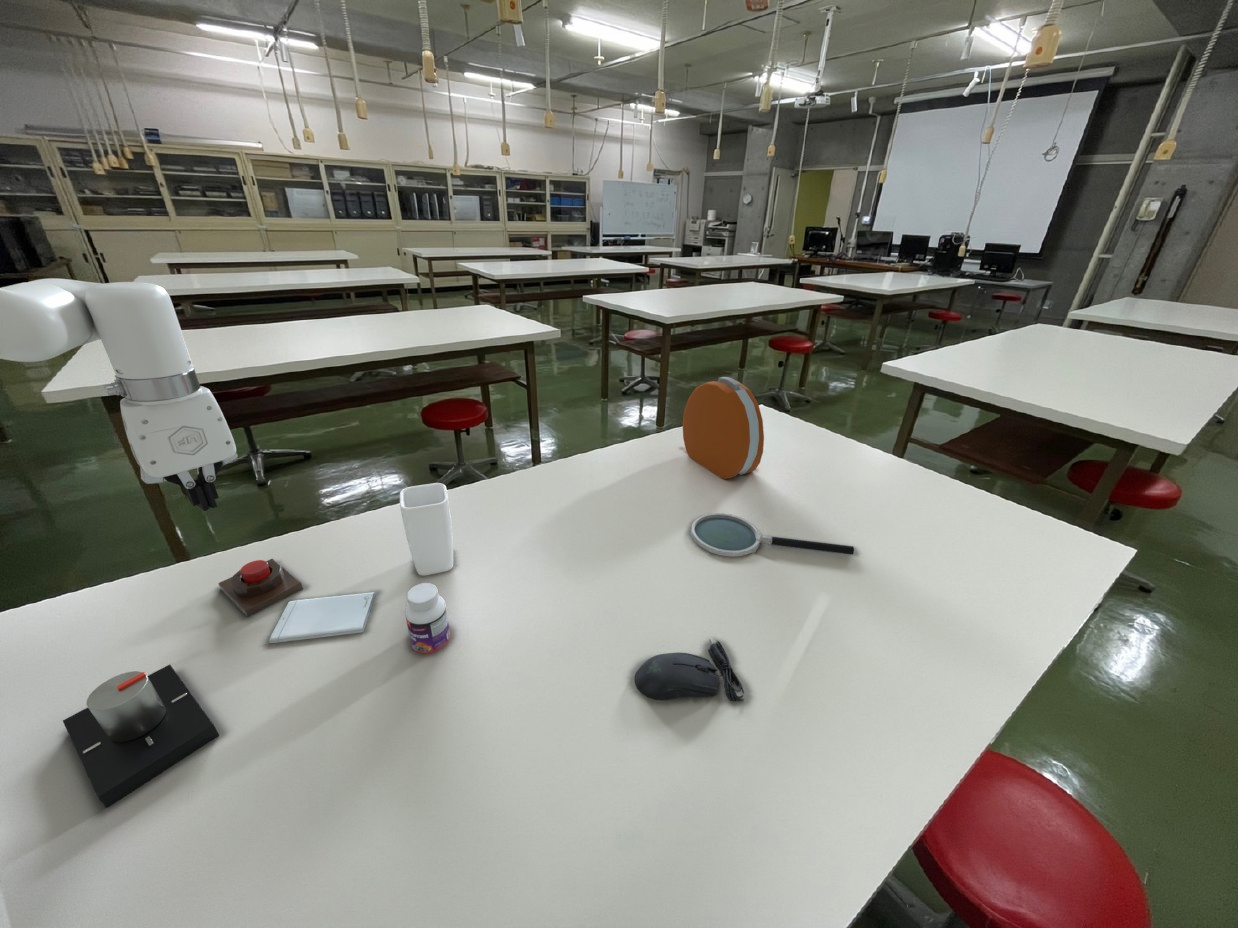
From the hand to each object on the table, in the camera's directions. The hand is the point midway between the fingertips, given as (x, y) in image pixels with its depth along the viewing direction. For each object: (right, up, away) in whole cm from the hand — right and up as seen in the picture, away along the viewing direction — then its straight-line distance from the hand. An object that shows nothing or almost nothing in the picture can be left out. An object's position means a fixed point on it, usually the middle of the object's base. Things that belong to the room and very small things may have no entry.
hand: (206, 505), depth 72 cm
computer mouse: (+69, -24, -3) cm, 73 cm away
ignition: (+2, -15, +8) cm, 17 cm away
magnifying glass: (+90, -10, +26) cm, 94 cm away
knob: (+4, -24, -15) cm, 28 cm away
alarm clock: (+86, +6, +56) cm, 103 cm away
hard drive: (+15, -18, +4) cm, 24 cm away
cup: (+27, -12, +16) cm, 34 cm away
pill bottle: (+32, -20, +1) cm, 38 cm away
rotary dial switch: (+4, -26, -13) cm, 30 cm away
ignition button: (+2, -12, +7) cm, 14 cm away
